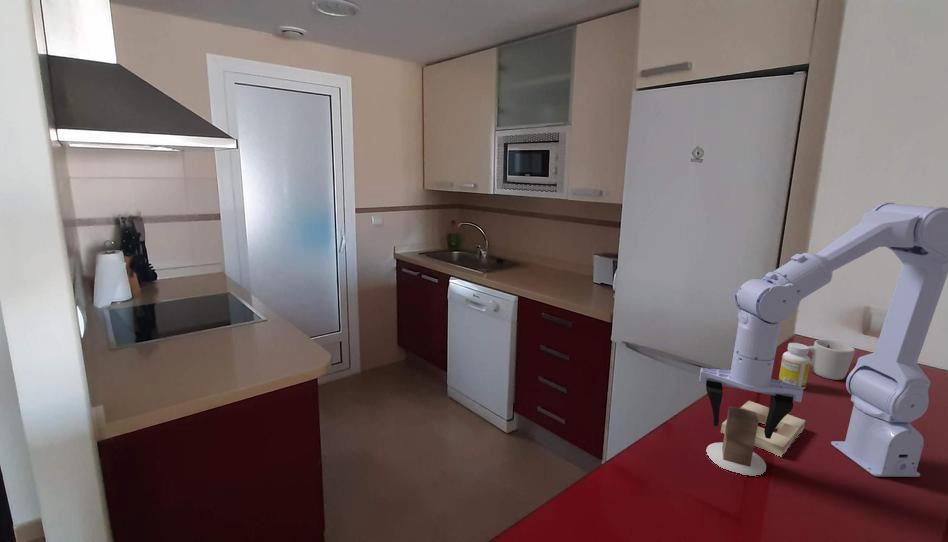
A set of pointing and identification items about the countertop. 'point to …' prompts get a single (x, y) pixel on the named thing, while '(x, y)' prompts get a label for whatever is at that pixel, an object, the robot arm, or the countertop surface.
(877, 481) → the countertop surface
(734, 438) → the plug peg
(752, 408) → the holder block
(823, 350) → the cup
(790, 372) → the supplement bottle
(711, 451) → the coaster
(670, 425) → the countertop surface
